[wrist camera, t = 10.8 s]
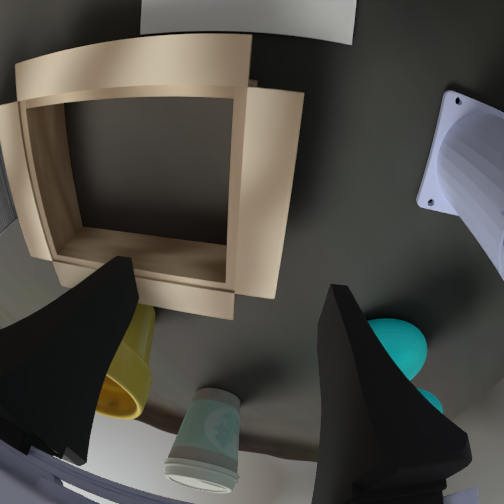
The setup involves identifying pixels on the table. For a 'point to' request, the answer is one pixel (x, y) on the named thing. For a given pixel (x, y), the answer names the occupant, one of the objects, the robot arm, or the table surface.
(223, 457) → the coffee cup
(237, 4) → the felt mat
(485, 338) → the table surface
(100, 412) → the plant pot
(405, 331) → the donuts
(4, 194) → the medicine box
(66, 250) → the carton
